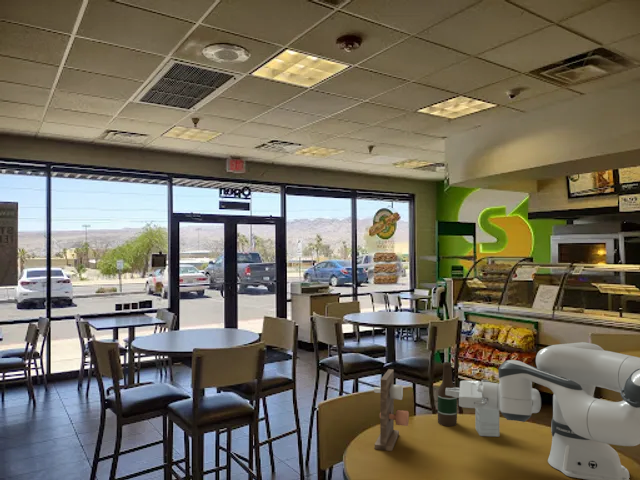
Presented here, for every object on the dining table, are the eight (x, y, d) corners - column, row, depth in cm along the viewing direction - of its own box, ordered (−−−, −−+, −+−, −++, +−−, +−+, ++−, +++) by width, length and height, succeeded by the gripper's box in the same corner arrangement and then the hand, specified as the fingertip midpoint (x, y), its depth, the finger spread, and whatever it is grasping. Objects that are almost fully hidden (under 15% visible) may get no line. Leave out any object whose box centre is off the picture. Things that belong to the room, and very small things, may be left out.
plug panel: (398, 434, 179) (399, 369, 180) (391, 451, 164) (392, 380, 165) (382, 432, 181) (383, 368, 182) (374, 448, 166) (374, 378, 167)
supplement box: (494, 430, 185) (494, 397, 185) (499, 437, 178) (499, 402, 178) (474, 429, 186) (474, 396, 186) (479, 436, 178) (479, 402, 179)
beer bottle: (433, 423, 192) (433, 362, 193) (443, 418, 198) (443, 359, 198) (451, 428, 187) (451, 366, 187) (460, 423, 192) (460, 362, 193)
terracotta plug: (408, 423, 173) (408, 409, 173) (406, 427, 168) (406, 413, 168) (381, 420, 176) (381, 406, 176) (378, 424, 171) (378, 410, 171)
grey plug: (402, 397, 174) (402, 383, 174) (400, 401, 169) (400, 387, 169) (375, 394, 177) (375, 381, 177) (372, 398, 172) (373, 384, 172)
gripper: (488, 415, 152) (443, 410, 156) (486, 396, 172) (446, 392, 176) (488, 395, 152) (444, 390, 157) (486, 378, 172) (446, 375, 176)
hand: (445, 391), depth 166 cm, fingers closed
